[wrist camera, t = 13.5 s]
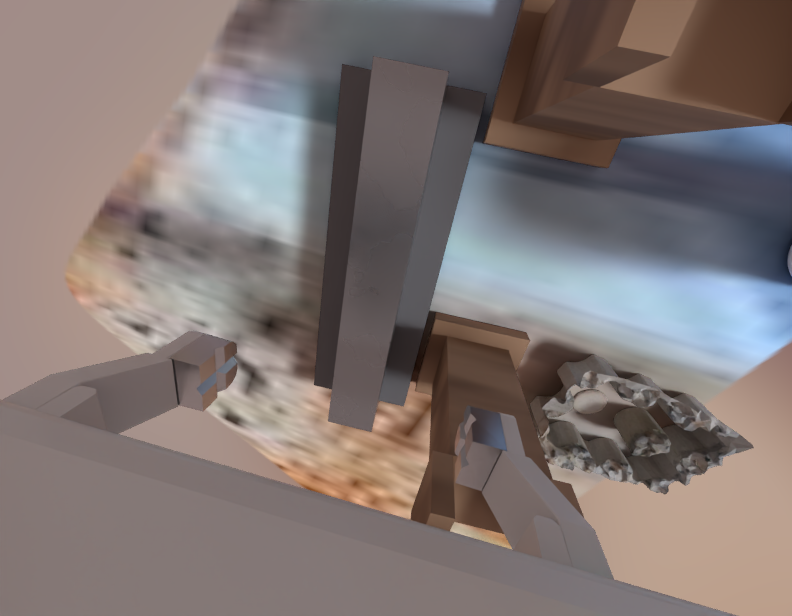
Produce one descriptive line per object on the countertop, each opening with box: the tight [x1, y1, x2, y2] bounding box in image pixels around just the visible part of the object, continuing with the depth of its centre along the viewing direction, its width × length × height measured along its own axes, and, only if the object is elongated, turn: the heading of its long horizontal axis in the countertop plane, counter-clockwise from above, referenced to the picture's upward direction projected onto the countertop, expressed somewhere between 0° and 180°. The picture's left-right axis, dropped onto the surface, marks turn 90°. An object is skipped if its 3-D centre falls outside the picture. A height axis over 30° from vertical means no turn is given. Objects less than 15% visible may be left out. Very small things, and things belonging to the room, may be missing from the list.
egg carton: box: [530, 355, 753, 494], centre depth 21 cm, size 11×8×4 cm
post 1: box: [411, 312, 584, 534], centre depth 16 cm, size 6×6×12 cm
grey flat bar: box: [314, 64, 487, 406], centre depth 20 cm, size 20×7×1 cm, turn 169°
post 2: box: [483, 0, 792, 168], centre depth 9 cm, size 6×6×12 cm
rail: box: [328, 56, 449, 432], centre depth 18 cm, size 20×3×3 cm, turn 169°
